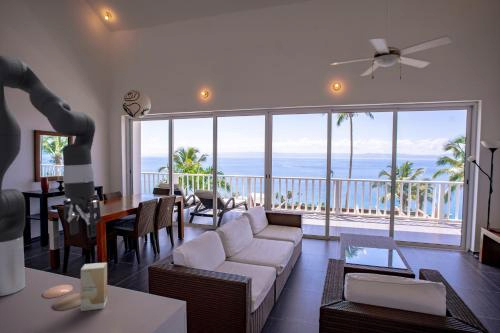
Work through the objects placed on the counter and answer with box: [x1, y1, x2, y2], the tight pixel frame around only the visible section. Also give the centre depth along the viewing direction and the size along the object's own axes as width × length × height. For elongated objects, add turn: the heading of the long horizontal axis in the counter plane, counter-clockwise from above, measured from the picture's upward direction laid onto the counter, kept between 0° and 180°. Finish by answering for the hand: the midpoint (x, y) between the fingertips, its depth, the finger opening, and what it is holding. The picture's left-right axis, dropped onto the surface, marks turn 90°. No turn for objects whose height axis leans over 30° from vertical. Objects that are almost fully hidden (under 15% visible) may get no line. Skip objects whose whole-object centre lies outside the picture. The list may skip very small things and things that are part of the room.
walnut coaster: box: [52, 292, 81, 311], centre depth 87 cm, size 9×9×1 cm
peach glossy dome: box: [42, 284, 74, 299], centre depth 94 cm, size 8×8×1 cm
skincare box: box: [80, 262, 108, 312], centre depth 84 cm, size 6×4×12 cm
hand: (83, 235), depth 85 cm, fingers open, 8 cm apart
